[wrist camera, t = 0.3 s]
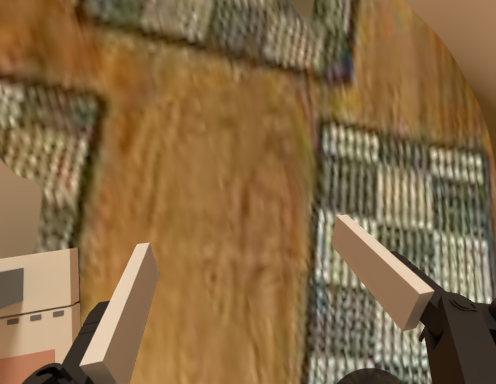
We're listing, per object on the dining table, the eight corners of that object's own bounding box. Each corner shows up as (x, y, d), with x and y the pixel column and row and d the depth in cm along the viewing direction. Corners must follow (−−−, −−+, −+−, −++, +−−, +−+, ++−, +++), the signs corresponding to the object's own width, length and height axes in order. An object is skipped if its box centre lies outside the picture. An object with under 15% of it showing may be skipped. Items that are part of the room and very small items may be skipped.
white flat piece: (82, 411, 26) (73, 423, 24) (-63, 444, 24) (-84, 459, 23) (79, 302, 28) (70, 307, 26) (-56, 325, 26) (-75, 332, 24)
